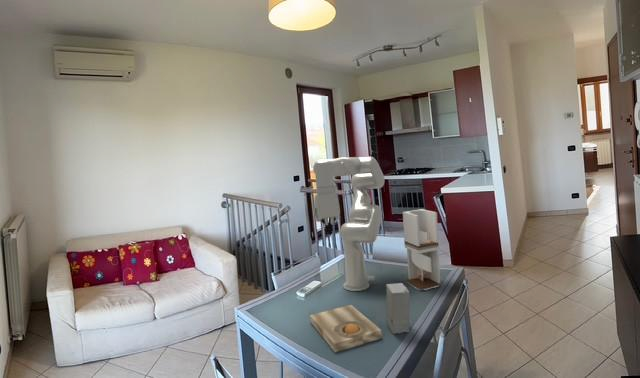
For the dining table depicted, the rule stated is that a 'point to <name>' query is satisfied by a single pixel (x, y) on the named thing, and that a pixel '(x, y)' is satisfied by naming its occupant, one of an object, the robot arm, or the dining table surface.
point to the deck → (335, 323)
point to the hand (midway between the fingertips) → (329, 233)
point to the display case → (422, 248)
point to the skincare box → (397, 308)
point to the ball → (351, 329)
